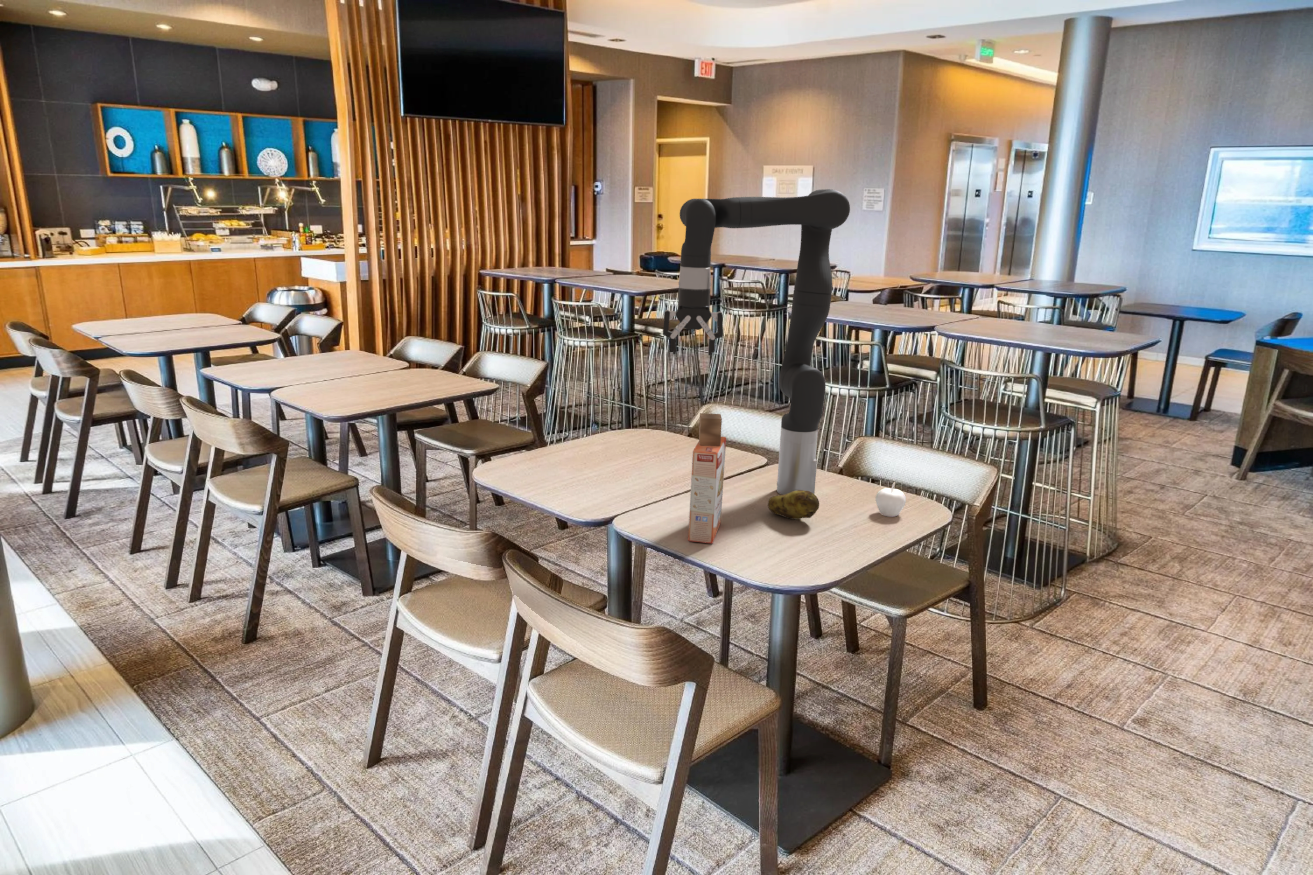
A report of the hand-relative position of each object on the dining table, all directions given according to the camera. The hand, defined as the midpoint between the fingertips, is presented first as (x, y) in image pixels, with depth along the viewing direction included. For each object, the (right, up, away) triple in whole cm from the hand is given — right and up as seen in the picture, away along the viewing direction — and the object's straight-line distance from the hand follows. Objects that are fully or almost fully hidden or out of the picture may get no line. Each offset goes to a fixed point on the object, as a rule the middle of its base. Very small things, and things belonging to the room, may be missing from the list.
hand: (691, 354), depth 209 cm
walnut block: (+3, -21, -19) cm, 29 cm away
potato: (+24, -40, -4) cm, 46 cm away
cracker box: (+2, -41, -14) cm, 44 cm away
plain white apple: (+48, -39, +1) cm, 62 cm away
